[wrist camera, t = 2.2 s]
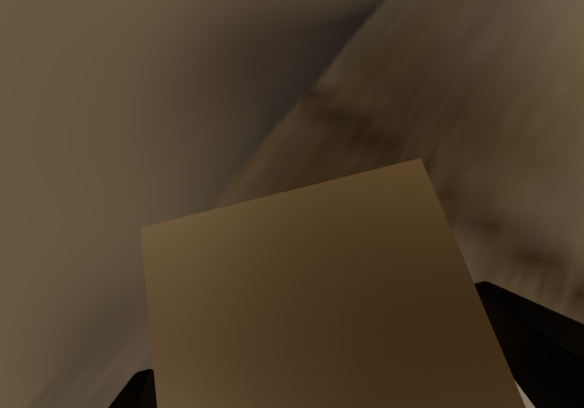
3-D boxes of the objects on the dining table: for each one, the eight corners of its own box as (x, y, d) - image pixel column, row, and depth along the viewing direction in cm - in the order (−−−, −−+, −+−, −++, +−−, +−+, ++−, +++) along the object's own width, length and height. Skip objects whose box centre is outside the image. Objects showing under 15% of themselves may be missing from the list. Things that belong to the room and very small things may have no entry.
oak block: (367, 355, 16) (566, 504, 4) (278, 378, 16) (177, 616, 4) (340, 266, 17) (420, 157, 5) (259, 287, 17) (139, 228, 5)
